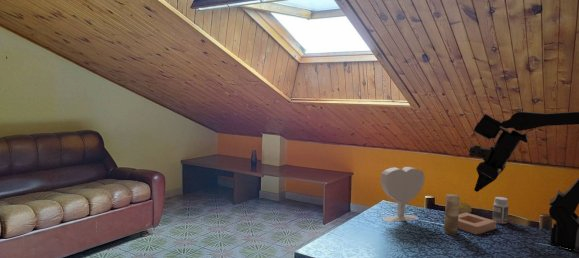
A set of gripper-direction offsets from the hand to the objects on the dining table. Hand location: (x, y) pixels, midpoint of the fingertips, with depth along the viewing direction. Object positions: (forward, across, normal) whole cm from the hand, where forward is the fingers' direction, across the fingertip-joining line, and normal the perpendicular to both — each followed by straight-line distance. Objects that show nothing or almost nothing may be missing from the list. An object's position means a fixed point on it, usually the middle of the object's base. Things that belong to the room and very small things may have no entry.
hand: (478, 188), depth 137 cm
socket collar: (+13, -1, +4) cm, 14 cm away
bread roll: (+16, -17, -2) cm, 24 cm away
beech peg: (+15, +9, 0) cm, 17 cm away
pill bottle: (+10, -13, +11) cm, 20 cm away
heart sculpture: (+22, +5, -16) cm, 28 cm away
